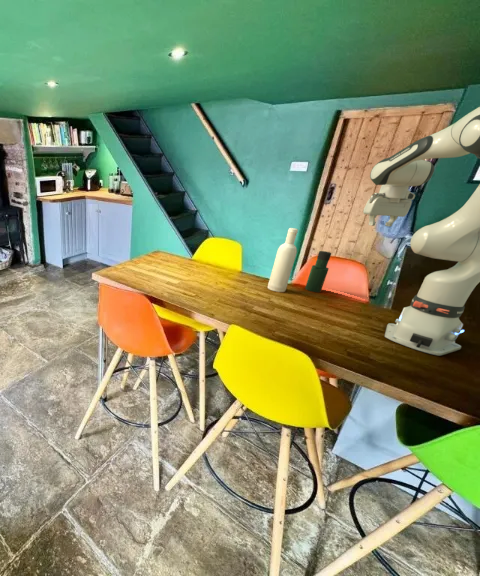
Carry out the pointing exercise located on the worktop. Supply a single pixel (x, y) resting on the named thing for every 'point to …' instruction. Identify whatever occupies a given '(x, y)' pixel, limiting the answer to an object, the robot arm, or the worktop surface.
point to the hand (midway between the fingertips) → (379, 225)
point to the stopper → (324, 255)
